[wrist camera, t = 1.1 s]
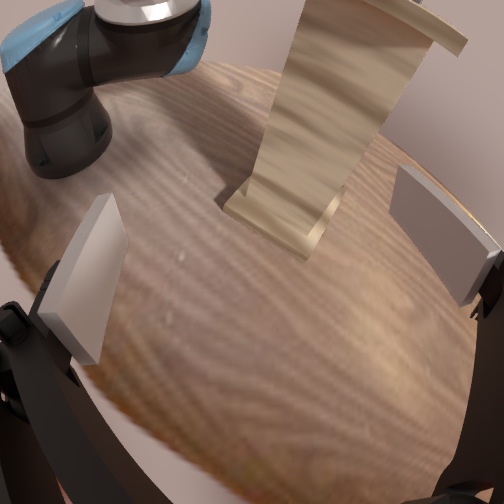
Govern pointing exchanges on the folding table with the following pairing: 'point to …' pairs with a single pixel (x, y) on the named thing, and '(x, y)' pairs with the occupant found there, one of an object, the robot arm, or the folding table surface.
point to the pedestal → (332, 111)
